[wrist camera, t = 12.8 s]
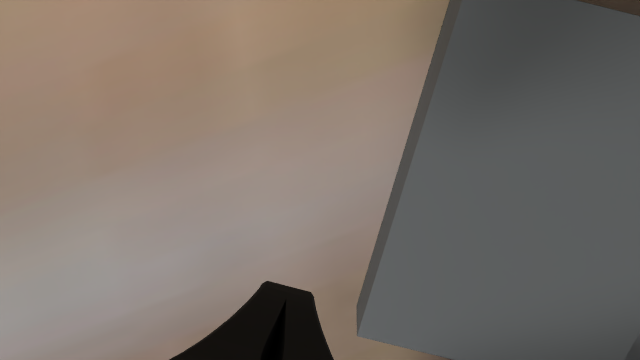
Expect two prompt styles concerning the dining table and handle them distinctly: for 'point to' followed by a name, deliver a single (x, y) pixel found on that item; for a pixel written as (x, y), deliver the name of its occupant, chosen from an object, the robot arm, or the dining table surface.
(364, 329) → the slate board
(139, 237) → the dining table surface
